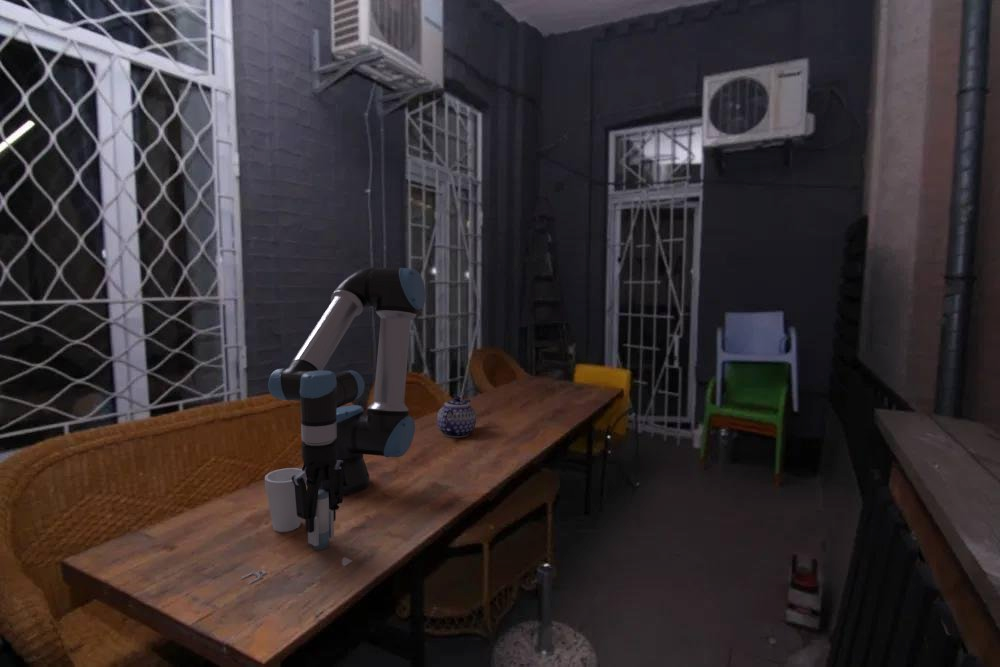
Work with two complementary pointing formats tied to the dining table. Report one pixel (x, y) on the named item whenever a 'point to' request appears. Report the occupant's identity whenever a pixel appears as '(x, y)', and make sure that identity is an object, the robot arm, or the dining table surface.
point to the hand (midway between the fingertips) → (321, 539)
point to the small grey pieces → (344, 561)
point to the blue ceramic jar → (456, 418)
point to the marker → (323, 520)
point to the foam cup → (282, 499)
